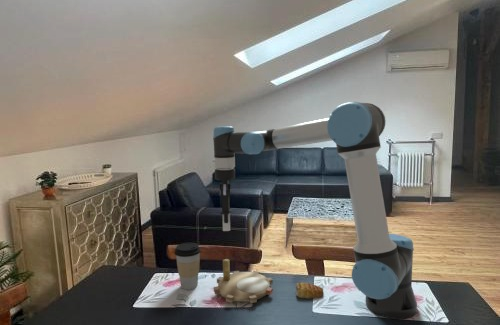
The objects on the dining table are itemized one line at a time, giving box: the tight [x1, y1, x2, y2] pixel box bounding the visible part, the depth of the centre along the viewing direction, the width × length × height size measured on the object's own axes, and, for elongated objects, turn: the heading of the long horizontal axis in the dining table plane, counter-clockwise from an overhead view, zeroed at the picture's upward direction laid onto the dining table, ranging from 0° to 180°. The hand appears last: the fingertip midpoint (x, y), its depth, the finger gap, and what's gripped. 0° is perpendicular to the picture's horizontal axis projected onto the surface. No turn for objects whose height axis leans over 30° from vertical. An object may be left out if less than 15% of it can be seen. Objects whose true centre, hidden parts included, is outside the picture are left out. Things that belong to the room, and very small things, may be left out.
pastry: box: [295, 282, 324, 300], centre depth 119 cm, size 9×7×4 cm
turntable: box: [213, 258, 274, 304], centre depth 122 cm, size 21×21×9 cm
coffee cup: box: [173, 242, 202, 291], centre depth 126 cm, size 9×9×15 cm
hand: (226, 230), depth 132 cm, fingers closed
